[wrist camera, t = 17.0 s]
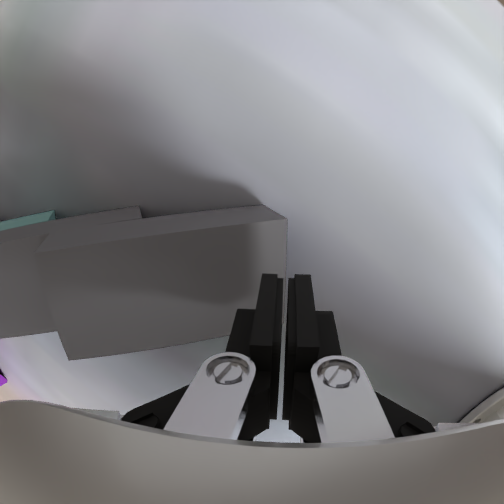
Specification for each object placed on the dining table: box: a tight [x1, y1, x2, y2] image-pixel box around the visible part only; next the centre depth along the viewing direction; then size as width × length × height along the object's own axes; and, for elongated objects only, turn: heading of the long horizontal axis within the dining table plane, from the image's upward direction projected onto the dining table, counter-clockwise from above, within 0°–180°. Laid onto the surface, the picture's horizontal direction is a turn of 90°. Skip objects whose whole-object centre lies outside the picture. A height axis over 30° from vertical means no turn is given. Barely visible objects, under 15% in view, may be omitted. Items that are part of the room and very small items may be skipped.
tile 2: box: [34, 205, 287, 360], centre depth 13 cm, size 3×5×10 cm
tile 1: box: [0, 206, 142, 339], centre depth 14 cm, size 3×5×10 cm
